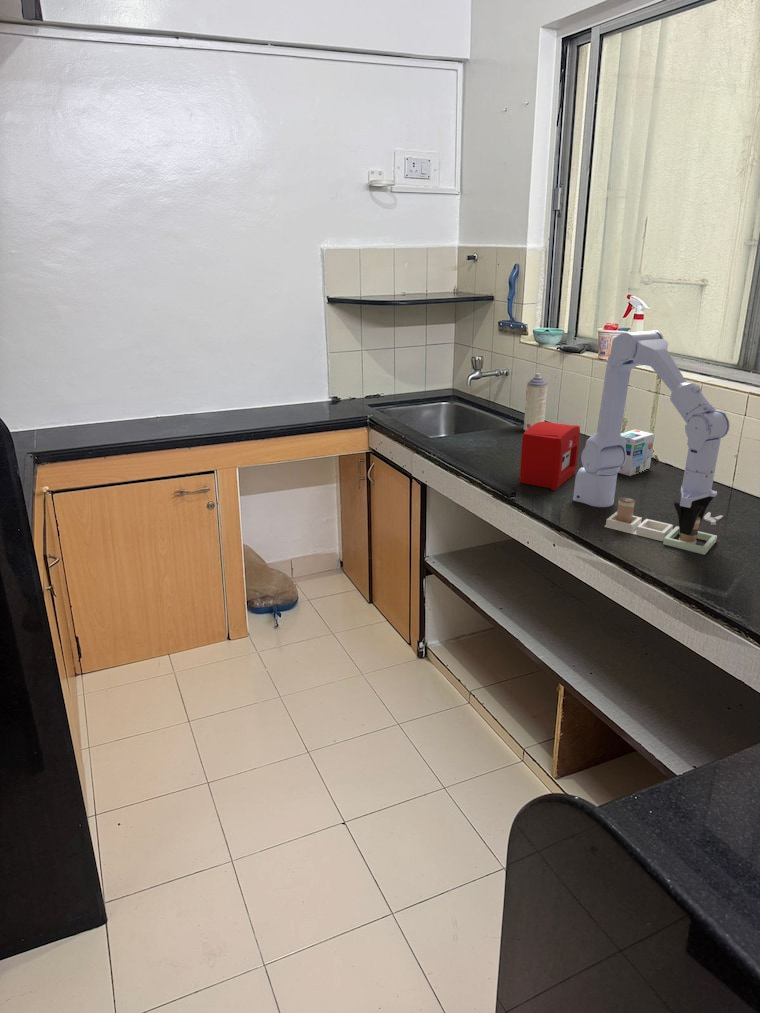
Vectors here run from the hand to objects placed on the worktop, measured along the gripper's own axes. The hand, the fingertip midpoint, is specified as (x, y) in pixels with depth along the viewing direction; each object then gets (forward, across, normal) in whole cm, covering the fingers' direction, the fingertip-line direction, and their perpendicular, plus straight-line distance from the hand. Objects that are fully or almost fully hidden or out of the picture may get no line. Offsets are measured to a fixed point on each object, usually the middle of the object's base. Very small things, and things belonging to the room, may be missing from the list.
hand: (689, 529), depth 150 cm
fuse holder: (+4, +1, +11) cm, 12 cm away
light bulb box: (+4, +45, +29) cm, 54 cm away
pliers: (+4, +13, 0) cm, 14 cm away
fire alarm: (+4, +23, +44) cm, 50 cm away
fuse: (+3, +1, +14) cm, 15 cm away
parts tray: (+4, 0, 0) cm, 4 cm away
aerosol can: (+4, +67, +71) cm, 98 cm away
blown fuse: (+3, 0, 0) cm, 3 cm away
